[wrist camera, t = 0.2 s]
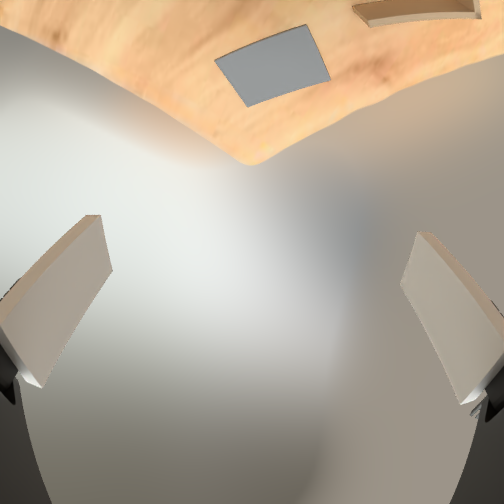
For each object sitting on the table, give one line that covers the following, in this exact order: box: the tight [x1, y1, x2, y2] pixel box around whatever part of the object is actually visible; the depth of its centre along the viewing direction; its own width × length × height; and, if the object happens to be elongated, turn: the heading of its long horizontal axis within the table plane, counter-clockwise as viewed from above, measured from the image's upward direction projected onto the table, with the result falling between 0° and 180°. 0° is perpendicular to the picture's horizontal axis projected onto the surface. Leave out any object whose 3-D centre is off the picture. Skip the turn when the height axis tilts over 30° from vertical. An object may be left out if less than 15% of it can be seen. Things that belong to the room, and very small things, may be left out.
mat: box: [215, 25, 331, 107], centre depth 35 cm, size 10×14×1 cm
